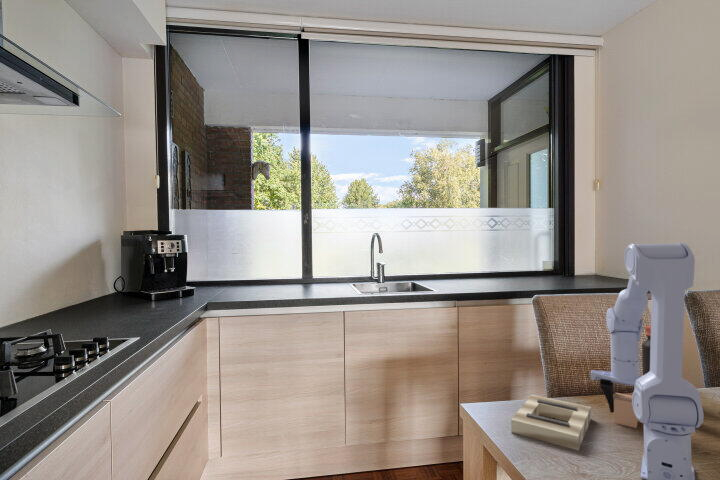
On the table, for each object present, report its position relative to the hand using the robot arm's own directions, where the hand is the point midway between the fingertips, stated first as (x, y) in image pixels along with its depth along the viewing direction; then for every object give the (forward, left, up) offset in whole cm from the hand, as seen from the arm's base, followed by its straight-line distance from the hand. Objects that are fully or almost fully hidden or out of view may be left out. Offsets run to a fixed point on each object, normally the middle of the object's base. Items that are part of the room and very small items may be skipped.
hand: (625, 414), depth 97 cm
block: (0, 0, -2) cm, 2 cm away
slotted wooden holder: (-12, +14, -2) cm, 19 cm away
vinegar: (+20, -6, -2) cm, 21 cm away
